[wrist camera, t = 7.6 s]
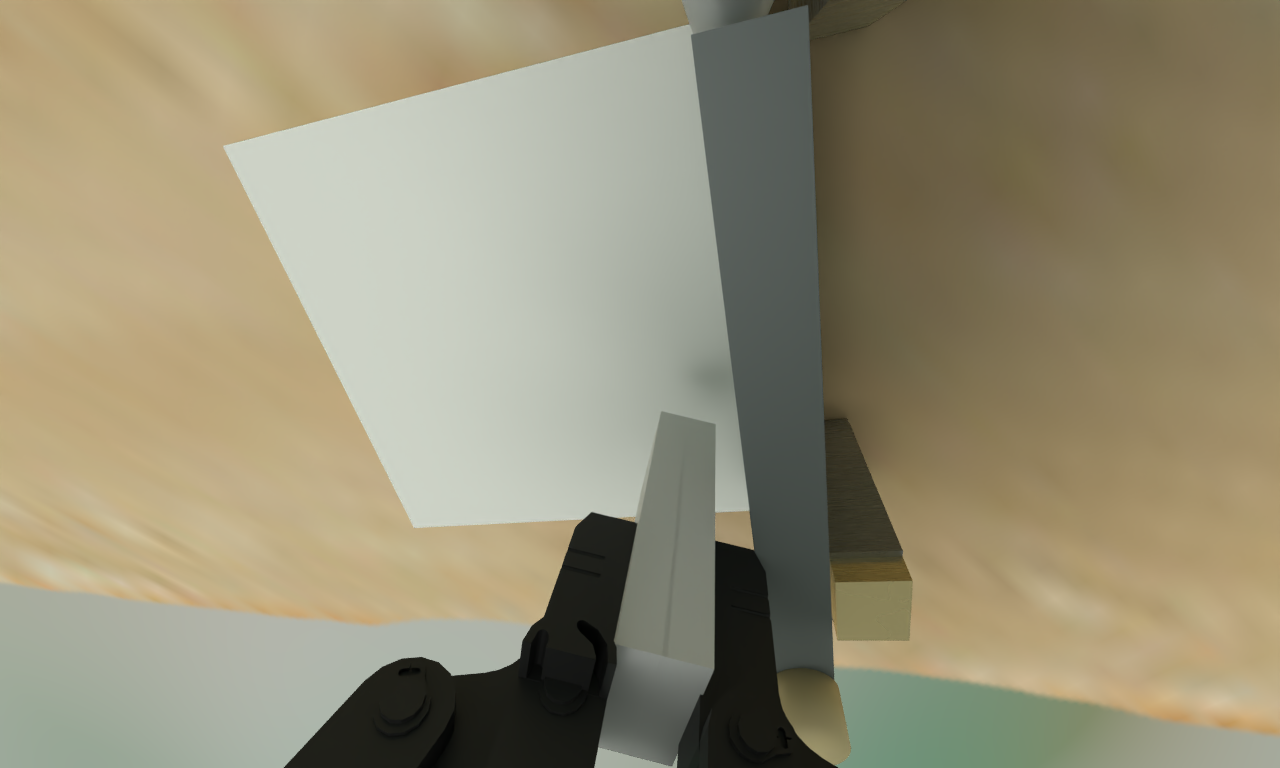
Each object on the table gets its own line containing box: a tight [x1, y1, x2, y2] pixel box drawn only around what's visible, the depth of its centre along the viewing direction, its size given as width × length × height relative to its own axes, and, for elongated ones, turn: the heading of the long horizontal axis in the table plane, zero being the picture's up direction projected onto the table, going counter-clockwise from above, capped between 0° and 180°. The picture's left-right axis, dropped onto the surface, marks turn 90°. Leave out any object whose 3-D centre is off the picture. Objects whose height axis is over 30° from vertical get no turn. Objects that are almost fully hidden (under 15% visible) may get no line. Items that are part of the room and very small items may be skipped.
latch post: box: [824, 419, 913, 641], centre depth 16 cm, size 2×3×7 cm
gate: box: [682, 0, 851, 765], centre depth 12 cm, size 16×2×10 cm, turn 11°
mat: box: [223, 24, 749, 528], centre depth 19 cm, size 17×17×1 cm
